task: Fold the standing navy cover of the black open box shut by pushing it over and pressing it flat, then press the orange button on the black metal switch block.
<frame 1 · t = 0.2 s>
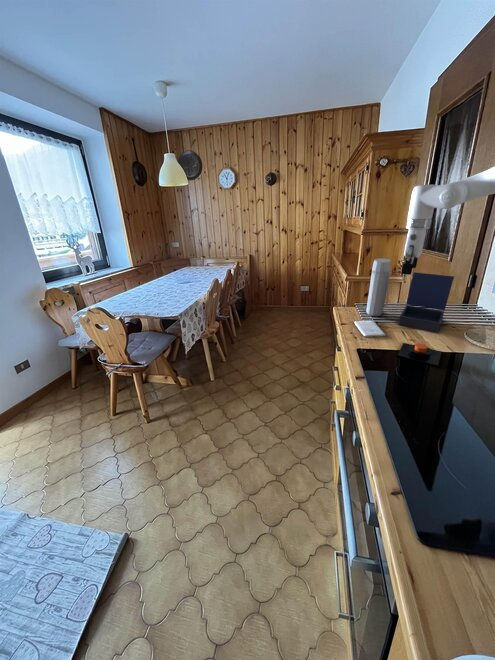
hand: (408, 270, 108), 24 cm above the counter, tool pointing down, fingers open, 9 cm apart
button: (420, 348, 97), point 3 cm above the counter, slide at 0.1 cm
cover: (428, 291, 121), point 12 cm above the counter, hinge at 95.0°
water bottle: (375, 314, 131), on the counter
hard drive: (368, 331, 117), on the counter
switch block: (418, 356, 99), on the counter
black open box: (419, 322, 121), on the counter
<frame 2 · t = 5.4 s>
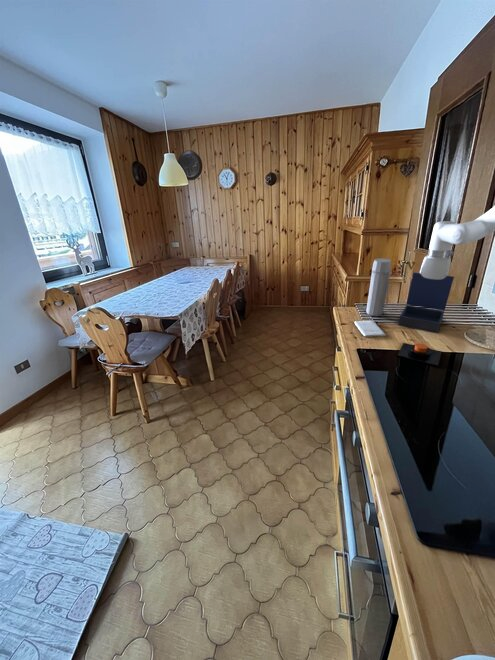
hand: (428, 296, 123), 9 cm above the counter, tool pointing down, fingers closed
cover: (428, 291, 120), point 12 cm above the counter, hinge at 93.0°, touching gripper
everything else where it was.
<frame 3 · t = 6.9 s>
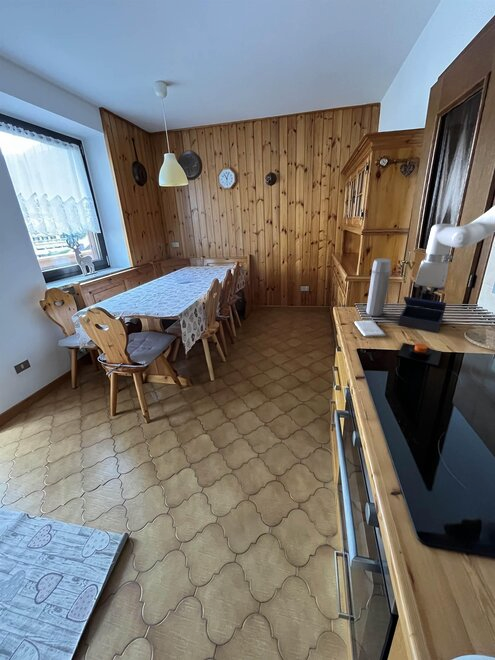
hand: (425, 301, 118), 9 cm above the counter, tool pointing down, fingers closed
cover: (424, 303, 118), point 8 cm above the counter, hinge at 30.9°, touching gripper
everything else where it was.
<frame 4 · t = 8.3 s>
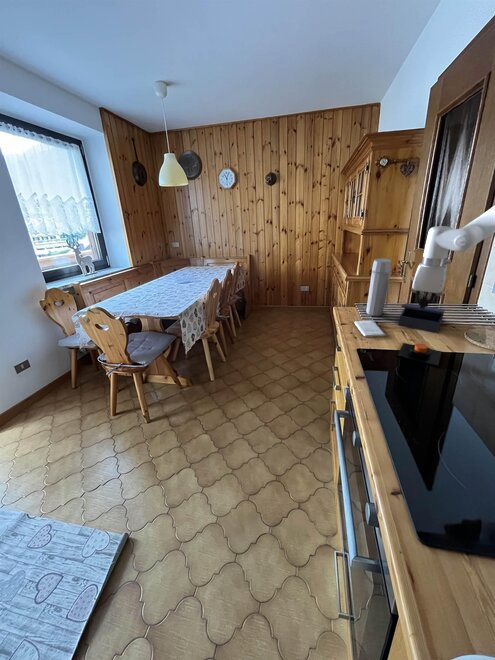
hand: (422, 307, 113), 9 cm above the counter, tool pointing down, fingers closed
cover: (423, 308, 118), point 7 cm above the counter, hinge at 16.3°
everything else where it was.
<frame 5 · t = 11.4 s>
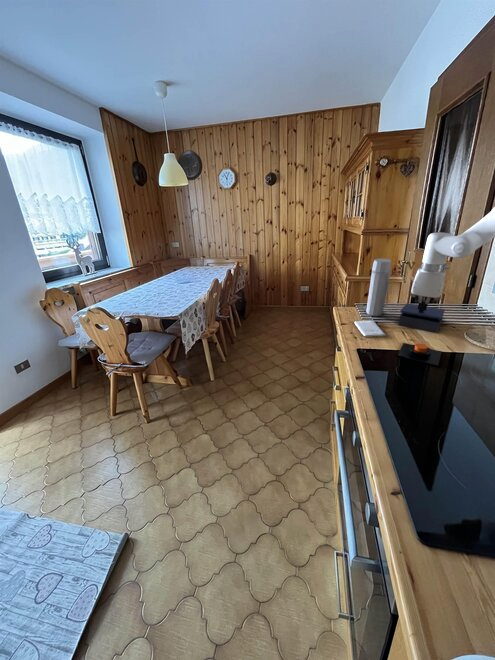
hand: (421, 311, 115), 7 cm above the counter, tool pointing down, fingers closed
cover: (422, 310, 118), point 6 cm above the counter, hinge at 7.5°, touching gripper
everything else where it was.
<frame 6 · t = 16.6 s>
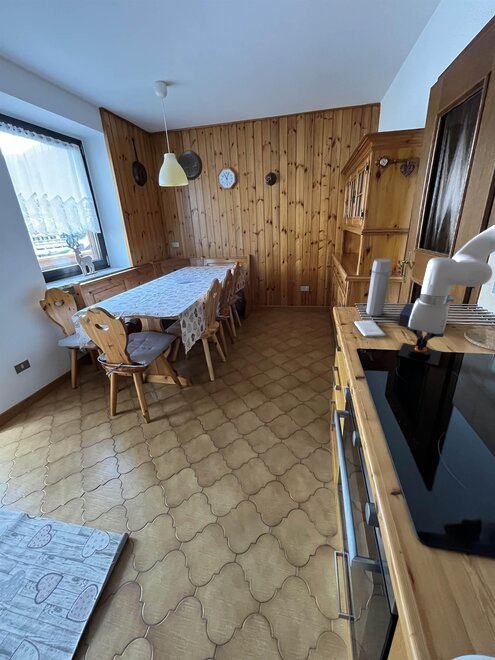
hand: (420, 348, 97), 4 cm above the counter, tool pointing down, fingers closed
button: (420, 350, 97), point 3 cm above the counter, slide at -0.8 cm, touching gripper
cover: (422, 312, 118), point 5 cm above the counter, hinge at 1.3°
everything else where it was.
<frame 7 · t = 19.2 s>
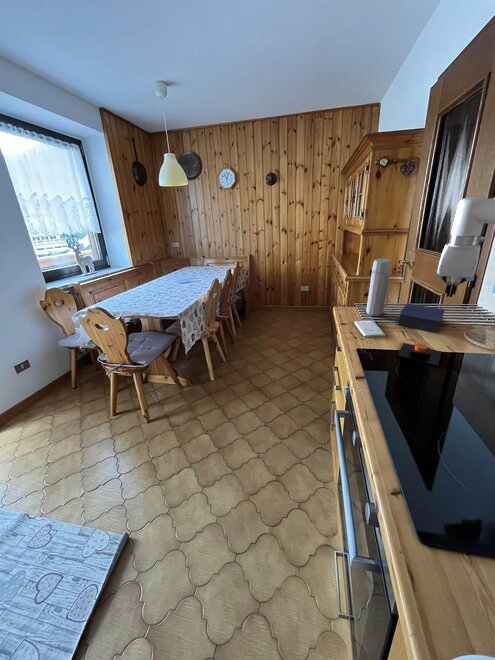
hand: (449, 295, 97), 19 cm above the counter, tool pointing down, fingers closed
button: (420, 348, 97), point 3 cm above the counter, slide at 0.1 cm
everything else where it was.
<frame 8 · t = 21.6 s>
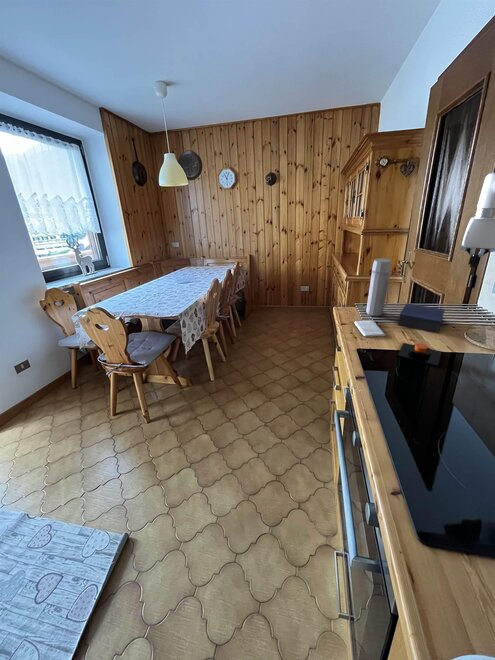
hand: (472, 266, 104), 25 cm above the counter, tool pointing down, fingers closed
nothing on the counter moved.
at the end: cover at +1° (first picture: +95°); button pushed in 0.9 cm at the most during the clip, back to where it started at the end; button slide at 0.1 cm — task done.
